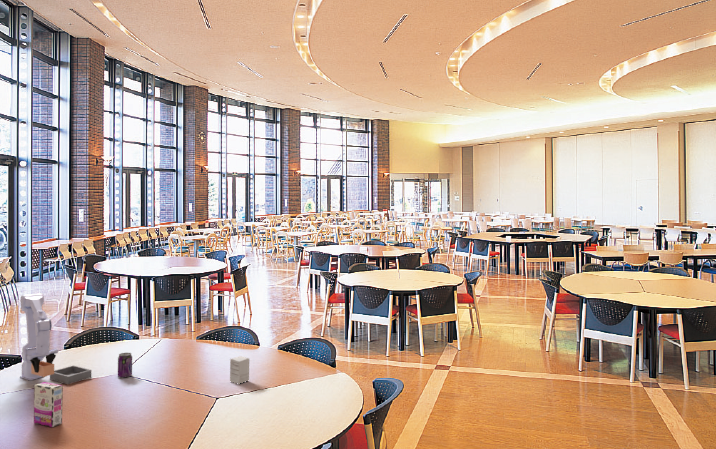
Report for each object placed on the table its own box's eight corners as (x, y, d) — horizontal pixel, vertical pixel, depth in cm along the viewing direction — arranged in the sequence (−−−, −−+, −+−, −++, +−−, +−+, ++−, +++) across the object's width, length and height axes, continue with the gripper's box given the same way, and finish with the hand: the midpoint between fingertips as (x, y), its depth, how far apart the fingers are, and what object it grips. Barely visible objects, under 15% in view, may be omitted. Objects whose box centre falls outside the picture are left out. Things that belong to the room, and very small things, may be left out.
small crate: (31, 373, 257) (31, 363, 257) (42, 370, 262) (42, 360, 261) (43, 376, 252) (43, 366, 252) (54, 373, 257) (54, 364, 257)
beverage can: (126, 378, 272) (126, 356, 272) (114, 377, 274) (115, 355, 273) (134, 374, 279) (135, 352, 279) (123, 373, 281) (123, 351, 280)
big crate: (49, 379, 268) (49, 371, 268) (73, 372, 280) (73, 365, 280) (68, 384, 261) (68, 376, 261) (91, 377, 273) (91, 369, 273)
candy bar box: (63, 423, 215) (63, 384, 215) (52, 428, 211) (52, 388, 210) (44, 418, 219) (44, 381, 219) (33, 423, 215) (33, 384, 214)
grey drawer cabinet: (240, 378, 278) (240, 355, 278) (249, 381, 274) (249, 358, 273) (229, 382, 272) (229, 358, 272) (238, 385, 268) (239, 361, 267)
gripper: (33, 348, 248) (32, 375, 249) (62, 341, 261) (61, 368, 262) (24, 346, 251) (24, 373, 252) (53, 339, 264) (53, 365, 265)
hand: (42, 370), depth 257 cm, fingers closed on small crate, 5 cm apart
